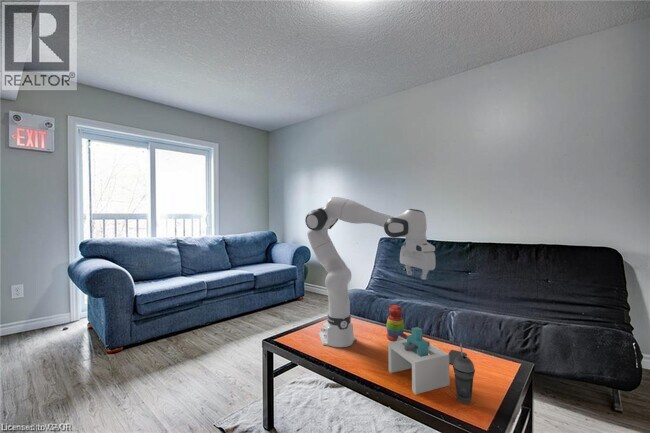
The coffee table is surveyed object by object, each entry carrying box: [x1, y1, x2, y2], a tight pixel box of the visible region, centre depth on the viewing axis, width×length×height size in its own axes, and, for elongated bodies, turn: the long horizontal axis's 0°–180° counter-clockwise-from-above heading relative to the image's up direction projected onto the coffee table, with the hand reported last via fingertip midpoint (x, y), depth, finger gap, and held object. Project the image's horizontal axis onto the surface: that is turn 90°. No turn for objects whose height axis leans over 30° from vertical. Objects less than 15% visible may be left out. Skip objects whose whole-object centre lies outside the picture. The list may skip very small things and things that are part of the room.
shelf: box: [387, 339, 450, 395], centre depth 120 cm, size 18×16×14 cm
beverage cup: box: [452, 342, 476, 405], centre depth 105 cm, size 7×7×20 cm
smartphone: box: [448, 349, 467, 366], centre depth 136 cm, size 7×1×15 cm
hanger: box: [406, 326, 429, 363], centre depth 120 cm, size 9×4×15 cm, turn 21°
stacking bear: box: [385, 304, 407, 342], centre depth 159 cm, size 11×10×18 cm
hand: (416, 277), depth 130 cm, fingers open, 8 cm apart
